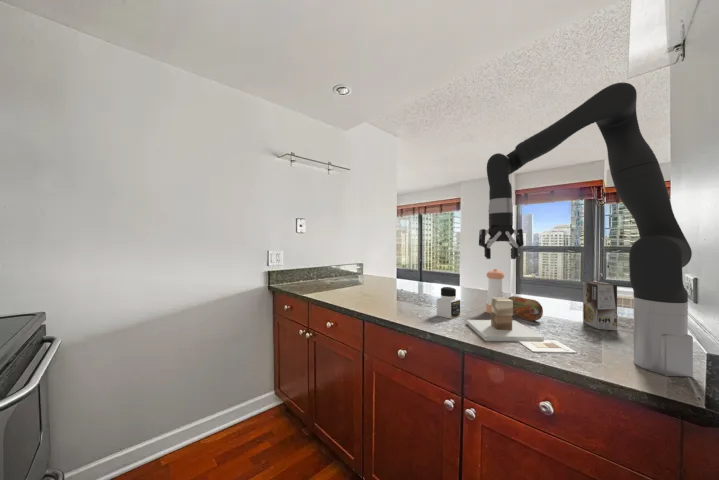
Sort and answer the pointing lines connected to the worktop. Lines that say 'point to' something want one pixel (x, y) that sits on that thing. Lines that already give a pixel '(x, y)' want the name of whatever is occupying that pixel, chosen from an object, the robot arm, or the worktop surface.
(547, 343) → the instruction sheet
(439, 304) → the medicine bottle
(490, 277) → the pepper shaker
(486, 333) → the base plate
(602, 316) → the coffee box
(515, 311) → the tin
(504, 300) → the birch block
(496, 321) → the walnut block
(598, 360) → the worktop surface
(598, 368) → the worktop surface
